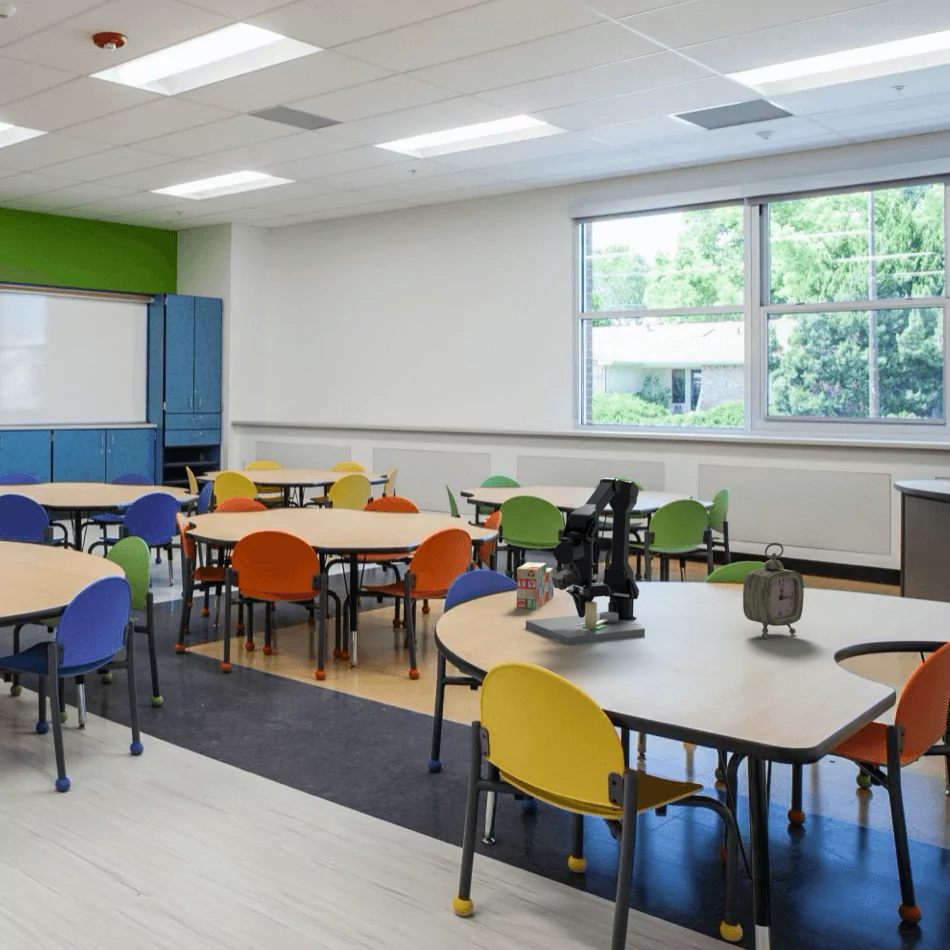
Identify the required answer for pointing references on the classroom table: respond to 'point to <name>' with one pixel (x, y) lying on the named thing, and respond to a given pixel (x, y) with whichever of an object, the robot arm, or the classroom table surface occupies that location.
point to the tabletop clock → (773, 594)
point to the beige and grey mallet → (592, 615)
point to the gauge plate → (583, 629)
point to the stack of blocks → (534, 585)
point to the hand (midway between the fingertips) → (581, 617)
